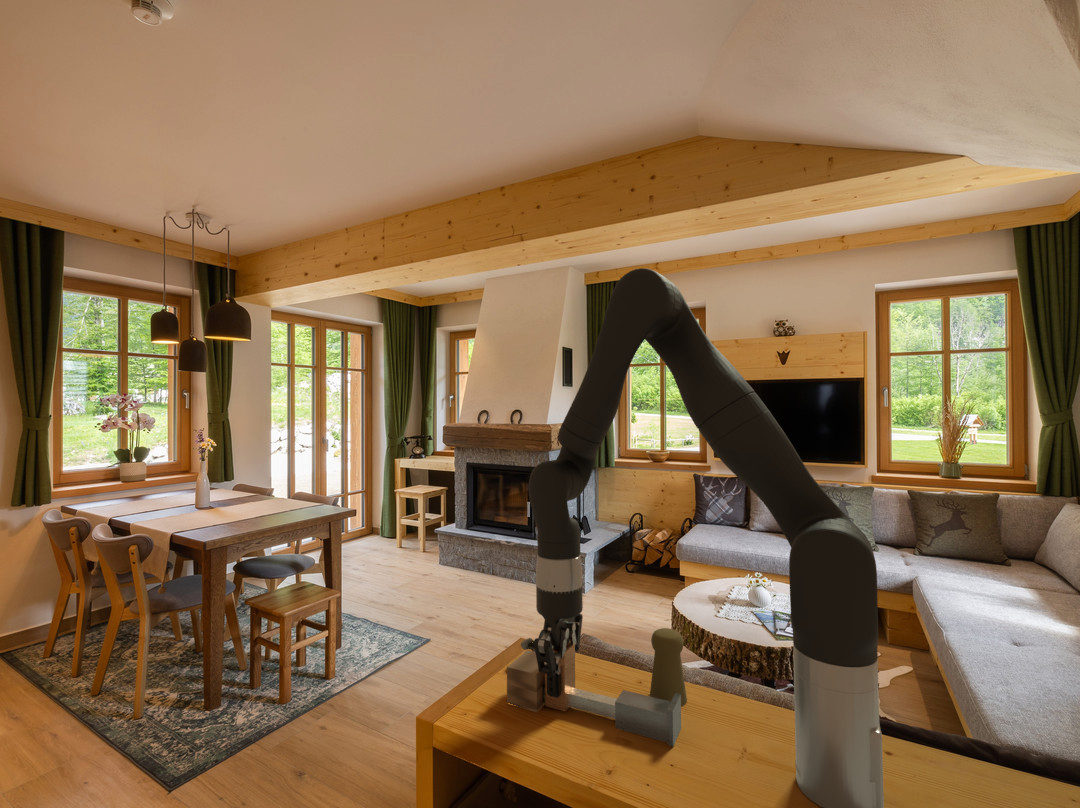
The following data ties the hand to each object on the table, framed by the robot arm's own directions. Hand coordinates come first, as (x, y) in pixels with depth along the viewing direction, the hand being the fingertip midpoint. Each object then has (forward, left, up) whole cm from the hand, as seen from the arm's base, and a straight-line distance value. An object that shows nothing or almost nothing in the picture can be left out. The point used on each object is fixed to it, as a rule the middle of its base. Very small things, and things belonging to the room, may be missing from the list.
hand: (560, 688), depth 85 cm
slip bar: (-3, 0, -2) cm, 4 cm away
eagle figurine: (+9, -13, -3) cm, 17 cm away
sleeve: (-14, 0, -3) cm, 14 cm away
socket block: (+5, 0, -3) cm, 6 cm away
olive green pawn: (-15, -10, -3) cm, 18 cm away
